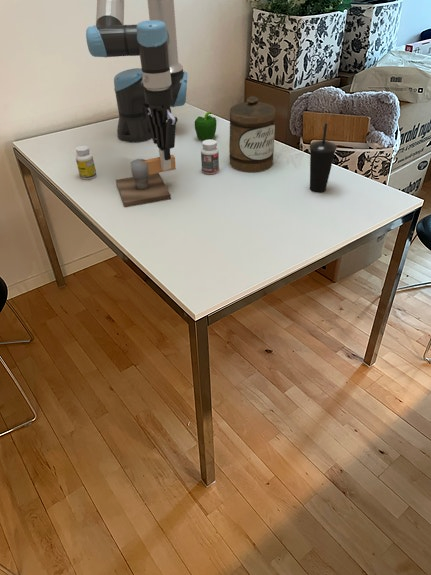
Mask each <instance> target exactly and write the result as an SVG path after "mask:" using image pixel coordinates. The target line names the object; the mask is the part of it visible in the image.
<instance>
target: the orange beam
mask: <svg viewBox="0 0 431 575" xmlns="http://www.w3.org/2000/svg"><path fill="white" fill-rule="evenodd" d="M170 155H171V169H168V170H165V171H163V170H162V169H161V160H160V156H158V157H153V158H152V157H151V158H148V159H145V158H137V159H133V160H131V161H130V163H129V164H130V168H131V169H130V170H131V175H132V176H131V177H134V178H137V179H141V178H145V177H147V176H148V175H150V174H155V173H159V174H160V173H163V172H169V171H174V170H176V169H177V168H176V167H177V166H176V157H175V155H174V154H170Z"/></svg>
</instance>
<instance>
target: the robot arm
mask: <svg viewBox="0 0 431 575" xmlns="http://www.w3.org/2000/svg"><path fill="white" fill-rule="evenodd" d="M147 8H148V9H147V10H148V17H149V20H143V21H140V22H138V23H137V24H124V22H125V20H124V19H125V0H96V15H95V25H92V26H91V25H90V26H88V27H86V31H85V38H86V44H87V48H88V52H89V54H90V55H91V56H92V57H94V58H113V57H116V58H117V57H129V56H130V57H136V56H137V57H138V56H139V58H140V66H141V68H140V67H136V68H129V69H126V70H123V71H120V72H118V73H116V75H114V78H113V85H114V86H113V89H114V93H115V98H116V106H117V110H118V122H117V129H116V133H117V134H116V135H117V138H118V140H120V141H122V142H126V143H142V142H147V141H150V140H152V141H153V142H152V143H153V144H154V145H156V147H157V148H158V153H159V157H160V160H161V169H162V170H163V171H165V170H168V169H171V155H172V154H171V149H173V148H175V142H176V129H177V128H176V126H177V124H178V117H177V116H174V115H173V114H172V109H171V108H176V107H183V106H184V105H185V104H186V102H187V90H188V89H187V87H188V72H187V71H184V66H183V65H182V64H181V63H180V62H179V54H178V53H179V52H178V40H177V27H176V16H175V14H176V13H175V12H176V11H175V0H147ZM165 172H166V171H165Z"/></svg>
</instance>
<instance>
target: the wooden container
mask: <svg viewBox="0 0 431 575" xmlns="http://www.w3.org/2000/svg"><path fill="white" fill-rule="evenodd" d="M275 130H276V108H275V106H274V105H271V104H270V103H266V102H260V101H259V97H257V96H256V95H250V96H249V97H247V99H246V101H245V102H240V103H237V104H234V105H232V106H231V107H230V109H229V141H228V142H229V146H228V147H229V149H228V150H229V151H228V152H229V154H228V155H229V156H228V157H229V165H230V166H231V168H232V169H235V170H237V171H239V172H240V171H241V172H244V173H245V172H246V173H257V172H262V171H266V170H268V169H270V168H271V167H272V166H273V164H274V152H275V133H276V132H275Z"/></svg>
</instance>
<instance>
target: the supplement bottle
mask: <svg viewBox="0 0 431 575" xmlns="http://www.w3.org/2000/svg"><path fill="white" fill-rule="evenodd" d="M75 151H76V155H75V161H76V165H77V170H78V173H79V174H78V175H79V178H81V179H82V180H93V179H95V178H96V177H97V169H96V165H95V160H94V156H93V154H92V153H91V152H90V148H89V146H88V145H79V146H76V148H75Z"/></svg>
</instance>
